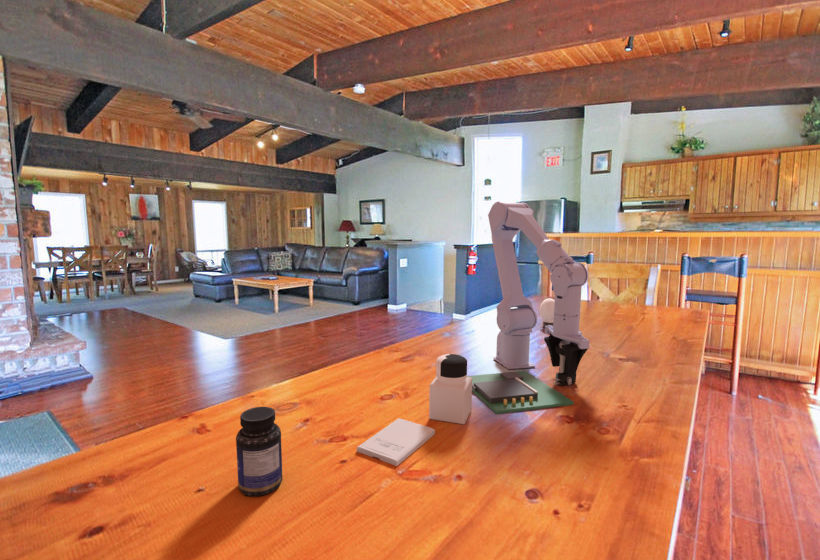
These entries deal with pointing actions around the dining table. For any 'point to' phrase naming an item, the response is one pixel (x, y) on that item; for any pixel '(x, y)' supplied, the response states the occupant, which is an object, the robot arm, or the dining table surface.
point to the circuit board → (545, 397)
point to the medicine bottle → (450, 390)
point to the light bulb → (547, 311)
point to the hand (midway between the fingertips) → (563, 369)
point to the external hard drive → (396, 441)
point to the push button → (563, 368)
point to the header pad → (505, 390)
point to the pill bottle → (259, 452)
